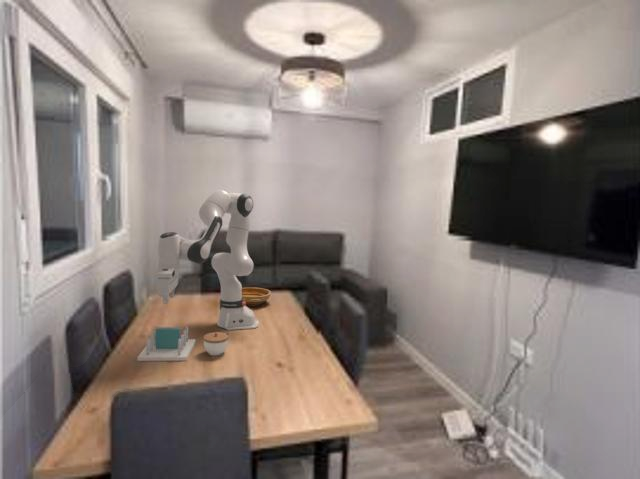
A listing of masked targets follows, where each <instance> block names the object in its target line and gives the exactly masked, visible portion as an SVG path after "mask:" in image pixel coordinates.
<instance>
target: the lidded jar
mask: <svg viewBox="0 0 640 479" xmlns="http://www.w3.org/2000/svg"><path fill="white" fill-rule="evenodd" d="M228 343H229V335H228V334H227V333H225V332H221V331H215V332H208V333H206V334H204V335H203V346H204V349H205V351H206V353H207V354H208V355H209V356H215V357H216V356H220V355H222V354H223V353H224V352H225V351H226V350H227V347H228Z"/></svg>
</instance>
